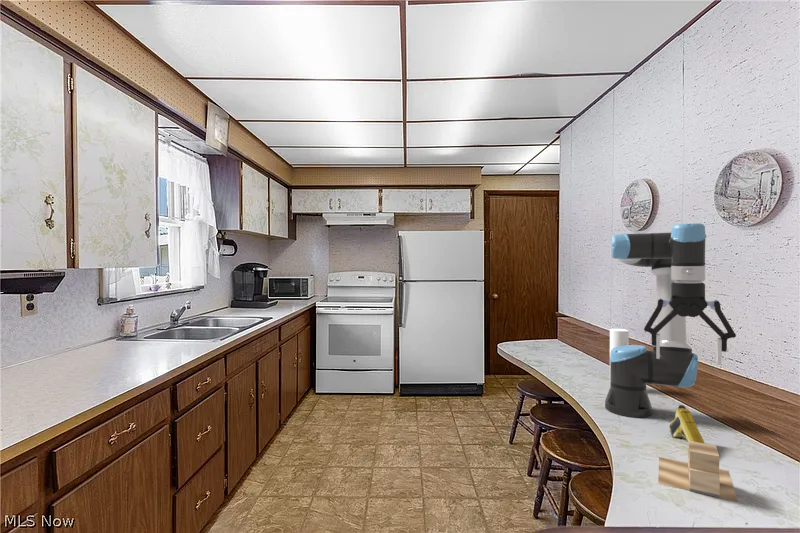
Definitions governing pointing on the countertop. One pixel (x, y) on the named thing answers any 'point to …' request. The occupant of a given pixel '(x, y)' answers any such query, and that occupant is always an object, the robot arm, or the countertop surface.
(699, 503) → the countertop surface
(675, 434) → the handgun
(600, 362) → the countertop surface
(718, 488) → the block
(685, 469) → the board
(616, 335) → the cylindrical container
